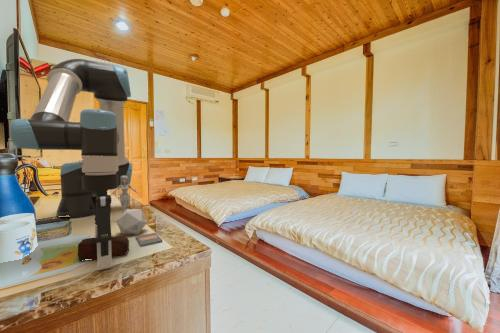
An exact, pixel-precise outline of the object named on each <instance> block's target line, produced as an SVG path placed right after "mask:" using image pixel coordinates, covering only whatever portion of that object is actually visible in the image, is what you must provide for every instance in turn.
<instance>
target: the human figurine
mask: <svg viewBox="0 0 500 333" xmlns="http://www.w3.org/2000/svg"><path fill="white" fill-rule="evenodd" d="M128 182H129V180H128V176H121V185H119V187H118V188H116V189H114V190H113V191H112V193H111V194H109V195H110V197H112V196H113V195H115V193H116V192H117V191H118V190H121V192H122V193H120V194H119V201H120V205H121V215H122V214H123V213H124V212H125V211H126V210H127V209H130V208H129V206H130V200H131V195H130V193H128V191H129V189H131V190H132V191H133V192H135V193H136V194H137V195H139V196H140V197H142V195H141V194H140V193H139V192H138V191H137V190H136V189H134V188H133V187H132V186H131V184H130V185H129V184H128Z"/></svg>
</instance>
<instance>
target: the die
mask: <svg viewBox="0 0 500 333" xmlns="http://www.w3.org/2000/svg"><path fill="white" fill-rule="evenodd" d="M115 223H116V225H117V226H118V229H119V230H120V232H121V235H139V234H140V233H141V231H142V230H143V229H144V228H145V226H146V225H147V224H148V220H147V218H146V215H145V214H144V212H143V209H142V208H141V209H140V208H139V209H138V208H137V209H135V208H134V209H133V208H132V209H130V208H129V209H127V210H126V209H125V210H124V213H123V214H122V213H121V215H120V216H119V217H118V218H117V219H116V220H115Z"/></svg>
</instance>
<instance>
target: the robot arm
mask: <svg viewBox="0 0 500 333" xmlns="http://www.w3.org/2000/svg"><path fill="white" fill-rule="evenodd" d="M46 81H47V85H46V87H45V89H44V91H43V92H42V95H41V97H40V99H39V100H38V102H37V105H36V107H35V109H34V111H33V113H32V114H31V117H30V118H28V117H27V118H17V119H13V120H12V121H11V123H10V127H9V135H10V140H11V141H12V142H11V143H13V145H14V147H17V148H18V149H23V150H36V151H39V150H40V151H45V150H50V151H51V150H52V151H53V150H54V151H56V150H57V151H58V150H59V151H60V150H61V151H62V150H63V151H64V150H67V151H68V150H69V151H71V150H73V151H81V154H80V155H81V159H79V160H78V161H74V162H67V163H63V164H61V166H60V174H59V176H60V193H61V199H60V201H59V204H58V206H57V210H56V217H57V216H66V215H69V216H70V218H69V219H74V218H75V219H76V218H84V217H87V216H92V215H94V225H95V226H94V228H95V229H94V230H95V232H94V233H95V234H94V236H95V237H94V238H97V237H98V239H95V240H94V243H97V271H101V270H106V269H110V268H112V267H113V264H112V263H113V262H112V261H113V259H112V258H113V257H112V253H111V239H112V236H113V235H112V225H111V224H112V223H111V212H112V196H110V195H111V194H108V191H110V190H117V188H118V187H119V185H121V176H128V180H129V182H128V184H129V185H130V186H131V180H132V175H133V174H132V173H133V172H132V171H133V163H131V162H130V160H129V159H128V158H127V157H126V152H125V149H126V148H125V145H126V144H125V115H124V114H125V113H124V112H125V111H124V105H125V104H126V103H127V102H128V98H130V97H132V93H131V87H130V81H129V73H128V70H127V68H126V67H124V66H121V65H118V64H117V65H116V64H113V63H106V62H100V61H94V60H88V59H83V58H71V59H67V60H64V61H61V62H59V63H57V64H55V65H54V66H53V67H51V69H50V70H49V71H48V73H47V75H46ZM81 92H87V93H93V96H94V100H96V101H97V102H98V104H99V106H98V107H99V109H97V108H94V109H91V108H87V109H83V110H81V111H80V113H79V114H80V115H79V122H77V121H70V118H71V115H72V111H73V109H74V105H75V104H74V103H75V101H76V99H77V98H76V97H77V95H78V94H80V93H81Z"/></svg>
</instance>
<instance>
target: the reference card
mask: <svg viewBox="0 0 500 333" xmlns="http://www.w3.org/2000/svg"><path fill="white" fill-rule="evenodd" d="M135 240H136V241H137V243H138V245H139V246H140V248H142V247H146V246H151V245H155V244H159V243H160V244H161V243H163V239H162V238H161V237H160V236H159V234H158V233H157V232H152V233H151V232H150V233H147V234H141V235H136V236H135Z"/></svg>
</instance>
